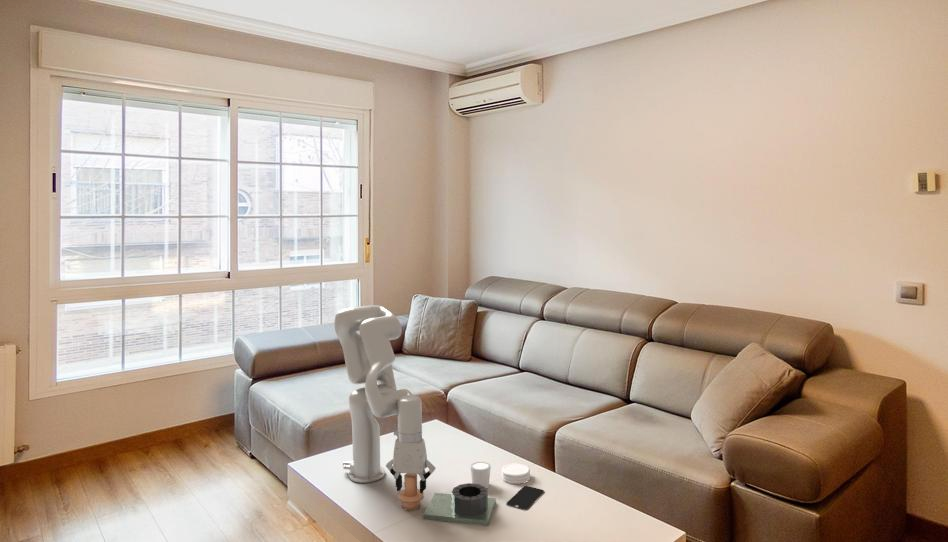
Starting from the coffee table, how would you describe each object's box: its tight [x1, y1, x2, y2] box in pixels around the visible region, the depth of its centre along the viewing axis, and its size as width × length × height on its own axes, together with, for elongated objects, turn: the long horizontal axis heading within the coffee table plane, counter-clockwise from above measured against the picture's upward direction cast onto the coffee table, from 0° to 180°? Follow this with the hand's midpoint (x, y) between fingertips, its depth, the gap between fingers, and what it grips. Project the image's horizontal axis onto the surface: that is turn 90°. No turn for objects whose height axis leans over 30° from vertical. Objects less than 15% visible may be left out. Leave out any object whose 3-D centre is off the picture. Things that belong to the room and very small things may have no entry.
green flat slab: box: [422, 482, 497, 527], centre depth 180 cm, size 20×14×6 cm
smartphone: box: [505, 485, 545, 511], centre depth 188 cm, size 8×1×15 cm
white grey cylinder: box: [470, 461, 492, 489], centre depth 197 cm, size 7×7×7 cm
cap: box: [397, 473, 425, 511], centre depth 183 cm, size 8×8×10 cm
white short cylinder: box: [501, 462, 531, 485], centre depth 203 cm, size 10×10×4 cm
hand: (410, 489), depth 183 cm, fingers open, 6 cm apart
